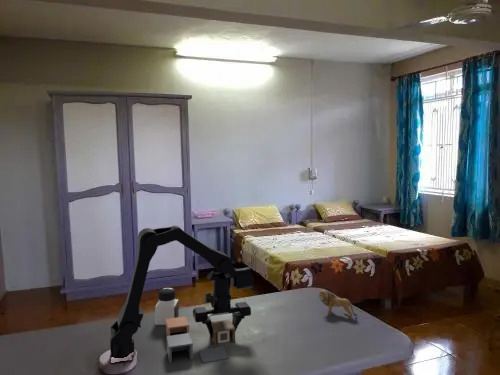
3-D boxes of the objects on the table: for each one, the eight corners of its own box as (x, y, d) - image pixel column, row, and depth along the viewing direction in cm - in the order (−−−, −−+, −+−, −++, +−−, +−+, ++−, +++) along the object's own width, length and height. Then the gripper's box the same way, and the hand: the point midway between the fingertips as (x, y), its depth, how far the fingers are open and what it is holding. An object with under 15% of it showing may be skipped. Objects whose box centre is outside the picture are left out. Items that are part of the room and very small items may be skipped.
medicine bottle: (174, 325, 142) (174, 293, 141) (155, 325, 143) (154, 293, 142) (178, 317, 150) (178, 286, 148) (160, 316, 150) (159, 286, 149)
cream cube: (217, 343, 129) (217, 331, 129) (215, 337, 133) (214, 326, 133) (229, 341, 131) (229, 330, 130) (226, 336, 135) (226, 324, 134)
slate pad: (202, 362, 117) (202, 361, 117) (198, 351, 124) (198, 350, 124) (228, 358, 120) (228, 357, 120) (223, 347, 126) (223, 346, 126)
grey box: (169, 362, 117) (169, 346, 117) (166, 351, 124) (166, 336, 124) (192, 359, 120) (192, 343, 119) (189, 348, 126) (188, 333, 126)
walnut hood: (214, 345, 128) (214, 331, 127) (209, 336, 134) (209, 322, 134) (235, 342, 130) (235, 328, 129) (229, 333, 136) (229, 319, 136)
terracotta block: (168, 342, 130) (167, 327, 130) (165, 332, 137) (165, 318, 136) (189, 339, 132) (189, 324, 132) (186, 330, 139) (185, 316, 138)
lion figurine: (317, 314, 152) (317, 292, 151) (319, 309, 157) (319, 287, 156) (356, 319, 147) (357, 296, 147) (357, 314, 152) (358, 291, 152)
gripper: (242, 280, 141) (242, 322, 142) (189, 286, 135) (190, 329, 137) (251, 291, 130) (251, 336, 132) (195, 297, 125) (196, 344, 126)
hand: (222, 336), depth 132 cm, fingers closed on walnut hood, 7 cm apart
